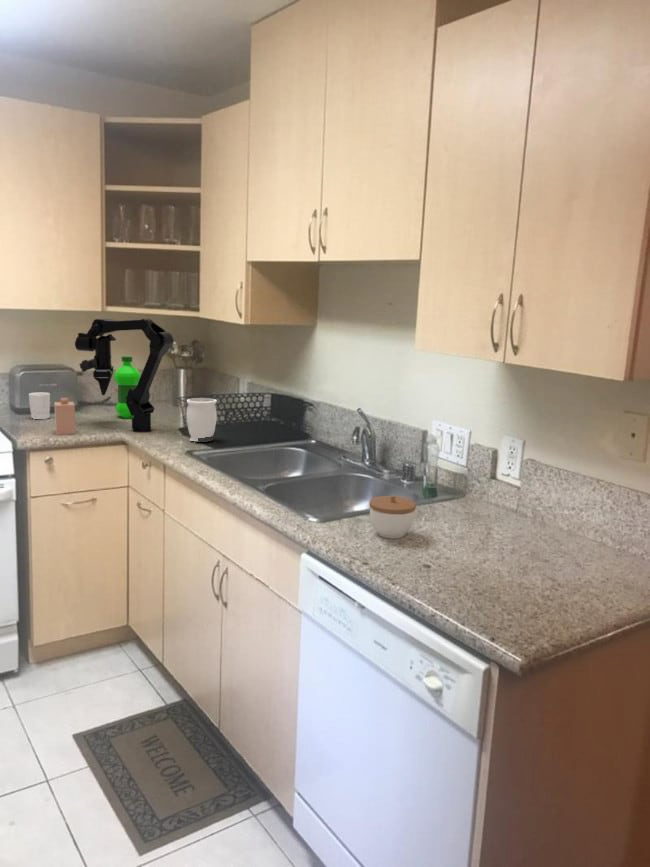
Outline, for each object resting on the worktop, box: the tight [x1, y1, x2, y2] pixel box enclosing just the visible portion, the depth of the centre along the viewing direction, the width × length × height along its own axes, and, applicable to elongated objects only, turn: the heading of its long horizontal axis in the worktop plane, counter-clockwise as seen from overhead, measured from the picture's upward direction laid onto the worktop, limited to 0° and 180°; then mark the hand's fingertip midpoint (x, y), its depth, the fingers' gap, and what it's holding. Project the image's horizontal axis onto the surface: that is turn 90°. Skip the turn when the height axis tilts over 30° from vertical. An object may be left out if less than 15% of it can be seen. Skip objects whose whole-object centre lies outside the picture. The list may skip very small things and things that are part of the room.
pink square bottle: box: [53, 397, 77, 436], centre depth 254 cm, size 6×7×13 cm
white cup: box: [28, 391, 51, 420], centre depth 281 cm, size 8×8×10 cm
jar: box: [186, 397, 218, 442], centre depth 251 cm, size 11×10×15 cm
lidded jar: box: [369, 494, 417, 540], centre depth 163 cm, size 11×11×9 cm
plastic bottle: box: [113, 355, 141, 419], centre depth 288 cm, size 10×10×25 cm
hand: (104, 393), depth 268 cm, fingers open, 9 cm apart
